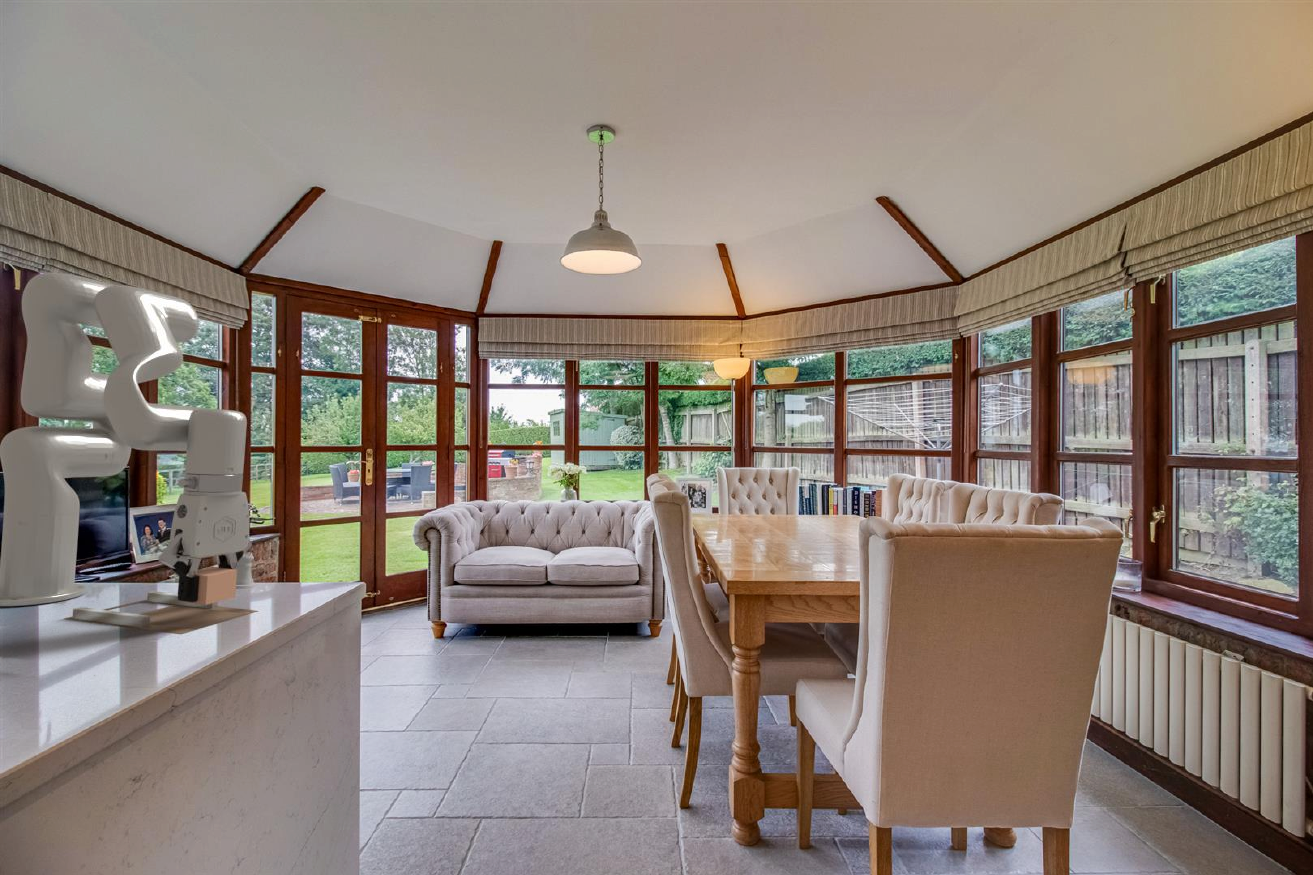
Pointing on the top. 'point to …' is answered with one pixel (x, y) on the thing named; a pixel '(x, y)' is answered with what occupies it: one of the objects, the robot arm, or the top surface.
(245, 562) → the rook chess piece
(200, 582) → the block
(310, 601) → the top surface
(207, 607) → the tan rectangular frame
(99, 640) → the top surface
